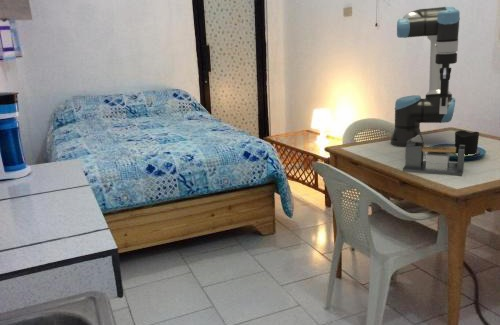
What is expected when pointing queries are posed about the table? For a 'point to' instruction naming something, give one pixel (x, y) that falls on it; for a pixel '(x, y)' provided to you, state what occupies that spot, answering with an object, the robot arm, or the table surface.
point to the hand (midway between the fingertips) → (443, 113)
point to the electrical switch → (416, 140)
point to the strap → (438, 149)
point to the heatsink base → (432, 161)
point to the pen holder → (467, 141)
